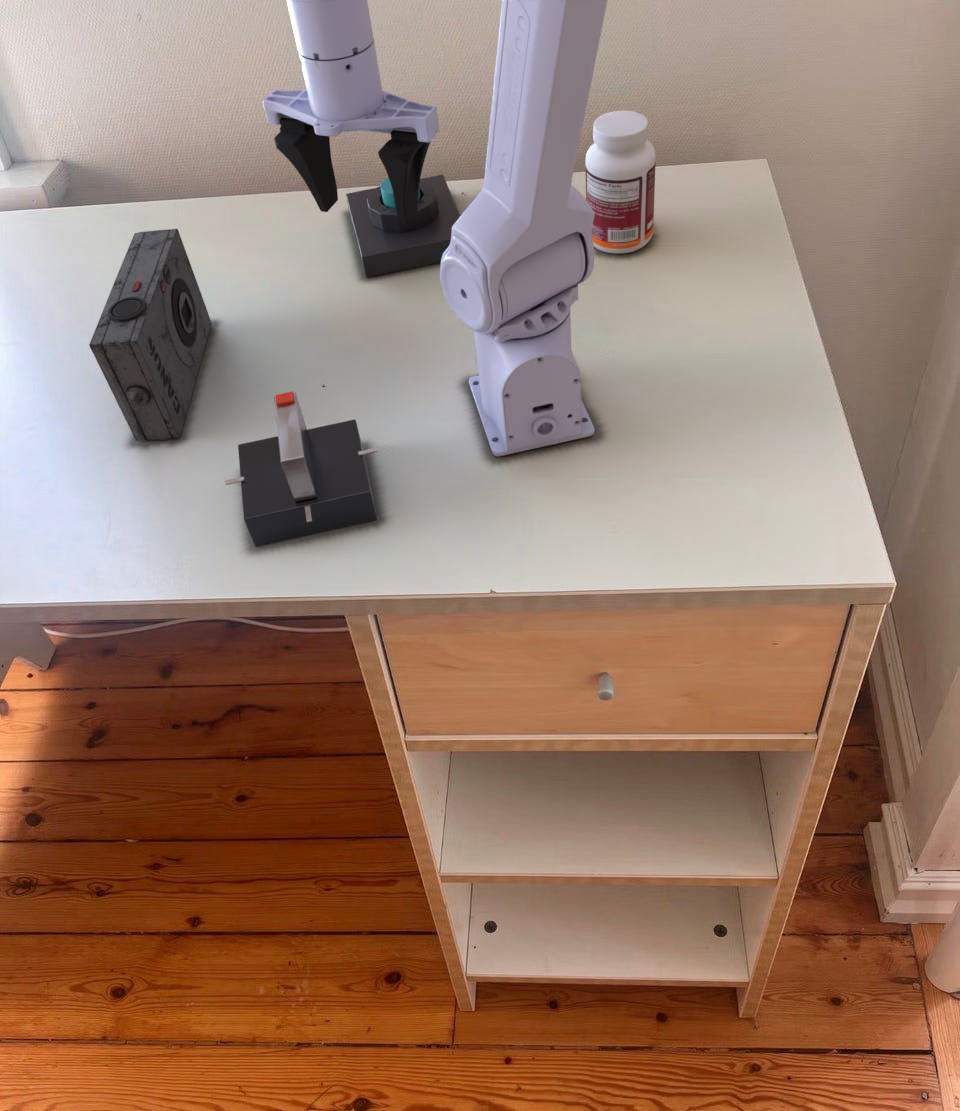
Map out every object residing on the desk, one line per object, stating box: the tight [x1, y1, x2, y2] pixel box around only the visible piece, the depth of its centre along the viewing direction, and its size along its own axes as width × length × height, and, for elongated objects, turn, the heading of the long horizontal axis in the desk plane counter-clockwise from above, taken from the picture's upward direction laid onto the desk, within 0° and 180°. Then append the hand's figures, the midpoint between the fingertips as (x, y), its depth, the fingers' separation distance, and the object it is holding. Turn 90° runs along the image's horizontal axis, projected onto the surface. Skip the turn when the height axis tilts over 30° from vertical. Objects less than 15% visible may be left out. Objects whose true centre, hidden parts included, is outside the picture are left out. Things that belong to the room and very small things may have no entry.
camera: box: [88, 228, 213, 442], centre depth 79 cm, size 16×4×10 cm, turn 0°
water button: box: [379, 176, 421, 208], centre depth 92 cm, size 4×4×2 cm
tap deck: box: [224, 419, 378, 548], centre depth 71 cm, size 11×11×3 cm
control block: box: [345, 174, 461, 278], centre depth 93 cm, size 12×10×4 cm
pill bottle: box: [584, 110, 657, 254], centre depth 87 cm, size 6×6×11 cm
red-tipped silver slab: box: [273, 390, 317, 502], centre depth 69 cm, size 7×2×4 cm, turn 11°
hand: (368, 211), depth 82 cm, fingers open, 7 cm apart
